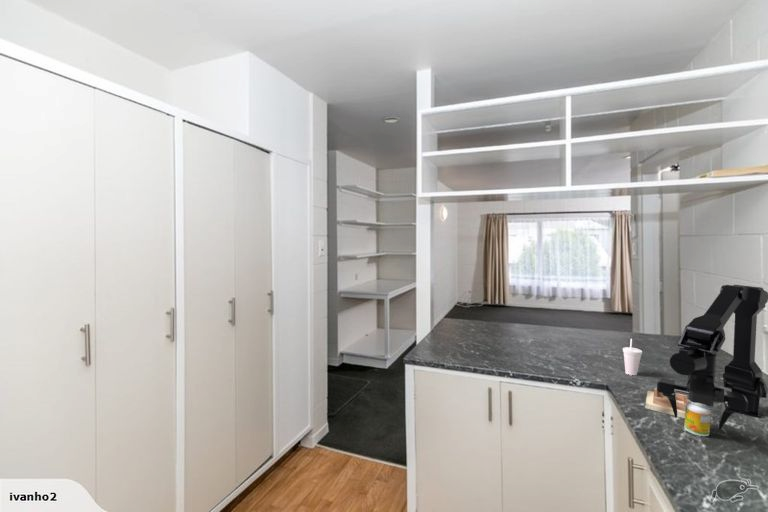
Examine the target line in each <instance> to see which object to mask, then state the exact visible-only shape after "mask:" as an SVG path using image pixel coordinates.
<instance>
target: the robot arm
mask: <svg viewBox="0 0 768 512" xmlns="http://www.w3.org/2000/svg"><path fill="white" fill-rule="evenodd" d="M767 303H768V291H766V290H764V288H763V287H761V286H750V285H744V284H743V285H740V284H733V285H732V284H722V286H721V287H720V290H719V293H718V295H717V296H716V298H715V299H714V300H713V302H712V303H711V305H710V306H709V307H708V309H707V310H706V311H705V313H704V314H703V315H700V316H697V317H694V318H693V319H692V320H691V321H690V322H689V323H688V324H686V325H685V327H684V330H683V332H682V334H681V337H680V339H679V341H678V343H677V346H678V347H681V348H679V350H678V352H676V353H674V354H673V355H671V356H670V358H669V365H670V367H671V369H672V370H673V371H674V372H675V373H677V374H679V375H682V376H686V386H685V385H682V384H677V383H676V382H675V379H671V378H666V377H661V376H660V377H658V378H657V383H656V389H657V391H658V392H661V393H662V395H664V396H667V398H668V399H669V401H670V403H671V406H672V409H673V412H674V415H675V416H674V415H673V416H674V418H676V419H677V418H678V416H677V403H676V393H677V392H678V393H681V394H682V393H683V394H686V395H688V400H690V401H691V402H694V403H701V404H705V405H707V406H708V407H713V405H714V403H722V405H721V410H720V414H719V418H718V425H717V426H718V427H717V428H718V430H722V428H723V426H725V424H726V422H727V420H728V419H729V418H730V416H732V415H733V414H735V413H737V414H744V415H748V416H753V417H757V418H760V417H761V415H760V413H759V409H760V399H762V398H764V399H767V397H768V386H767V384H766V382H765V379H763V371H762V369H761V367H759V365H758V364H757V363H756V341H757V323H758V322H757V321H758V320H757V319H758V315H759V314H760V312H762V311H763V310H764V309H765V308H766V304H767ZM733 314H734V327H733V329H734V330H733V331H734V333H733V353H732V354H733V355H732V359H731V361H730V362H728V364H726V365H725V366H724V370H723V372H722V373H723V374H722V380H723V388H722V387H721V388H720V387H716V385H715V382H716V381H715V380H716V379H715V378H716V366H717V353H719V352H720V350H721V348H722V346H723V345H724V343H725V342H726V333H725V329H724V328H725V326H726V324H727V322H728V321H729V319H730V318H731V317H732V315H733ZM724 388H725V389H726V388H727V389H729V390H726V391H725V389H724Z"/></svg>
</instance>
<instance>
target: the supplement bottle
mask: <svg viewBox="0 0 768 512" xmlns="http://www.w3.org/2000/svg"><path fill="white" fill-rule="evenodd" d="M711 421H712V409H711V408H710V406H707V405H705V404H701V403H694V402H691V401H690V402H688V403H687V404H686V411H685V418H684V424H683V425H684V429H685V430H686V431H687V432H688V433H690V434H693V435H695V436H700V437H709V435H710V433H711V430H710V429H711Z"/></svg>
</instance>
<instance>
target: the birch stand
mask: <svg viewBox="0 0 768 512" xmlns="http://www.w3.org/2000/svg"><path fill="white" fill-rule="evenodd" d="M645 399H646V400H645V408H644V409H647V410H652V411H654V412H655V411H656V412H659V413H663V414H666V415H671V416H674V417H675V415H674V412H673V409H672V406H671V403H670V401H669V399H668V398H667V396H664V395H662V393H661V392H658V391H657V387H656V388H654V390H653V391H652V390H647V393H646V398H645ZM688 402H690V400H689V398H688V394H684V393H683V394H682V393H680V392H678V393H677V392H676V403H677V418H678V417H679V418H683V419H685V411H686V404H687V403H688Z"/></svg>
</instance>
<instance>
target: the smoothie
mask: <svg viewBox="0 0 768 512" xmlns="http://www.w3.org/2000/svg"><path fill="white" fill-rule="evenodd" d="M629 344H630V345H629V346H625V347H622V352H623V360H624V370H625V371H624V372H625V374H626V375H628V374H629V376H632V375H636V376H637V375H638V370H639V367H640V361H641V359H642V358H641V357H642V355H643V351H642V350H641V349H639V348H636V347H633V338H630V342H629Z"/></svg>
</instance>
